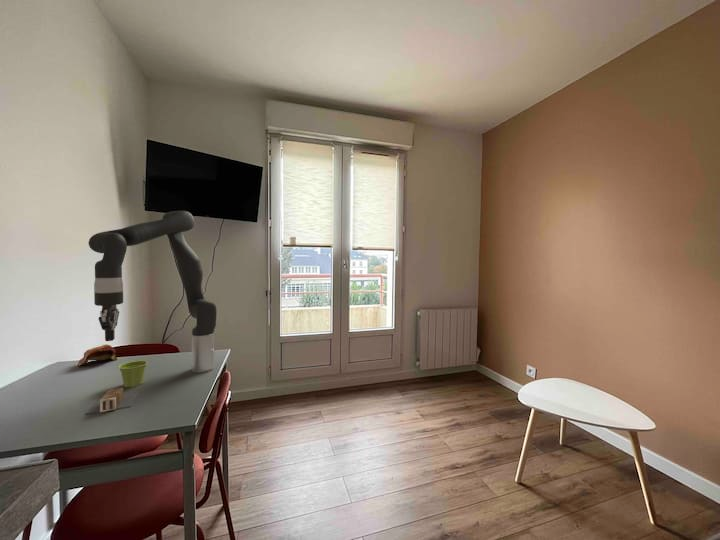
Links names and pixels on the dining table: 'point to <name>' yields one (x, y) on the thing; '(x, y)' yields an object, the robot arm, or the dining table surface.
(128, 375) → the plant pot
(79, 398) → the dining table surface
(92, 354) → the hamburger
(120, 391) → the tan wooden block
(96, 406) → the mat
